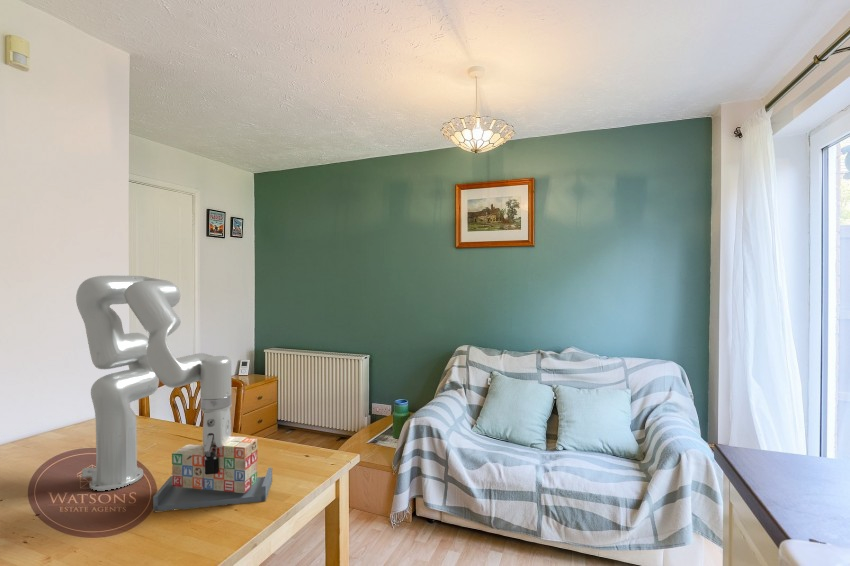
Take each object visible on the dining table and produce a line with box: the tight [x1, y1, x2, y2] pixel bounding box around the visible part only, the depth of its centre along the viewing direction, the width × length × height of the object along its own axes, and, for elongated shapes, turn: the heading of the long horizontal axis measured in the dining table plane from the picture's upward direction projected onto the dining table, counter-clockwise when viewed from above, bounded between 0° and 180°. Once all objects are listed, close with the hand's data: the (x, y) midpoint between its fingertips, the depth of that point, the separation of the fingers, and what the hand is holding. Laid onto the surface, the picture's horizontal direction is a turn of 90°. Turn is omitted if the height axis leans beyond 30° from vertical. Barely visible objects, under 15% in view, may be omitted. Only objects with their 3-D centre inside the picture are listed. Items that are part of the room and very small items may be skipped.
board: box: [152, 467, 273, 513], centre depth 113 cm, size 27×11×4 cm, turn 102°
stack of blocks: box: [171, 435, 258, 493], centre depth 113 cm, size 21×6×12 cm, turn 82°
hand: (216, 466), depth 113 cm, fingers closed on stack of blocks, 7 cm apart
